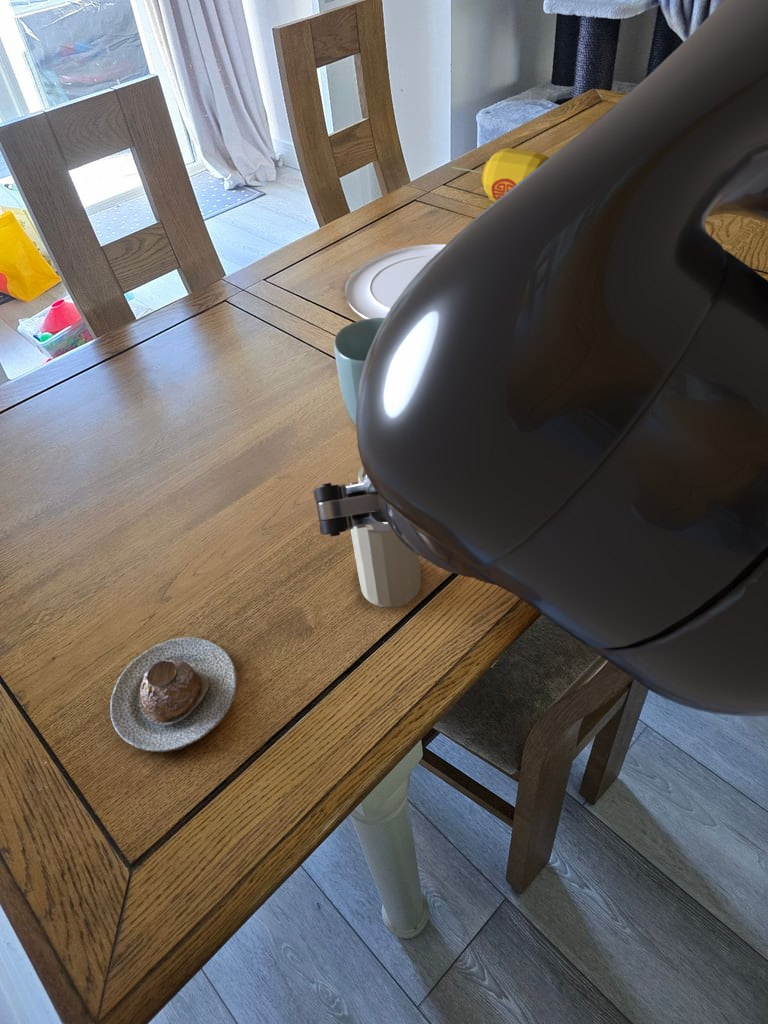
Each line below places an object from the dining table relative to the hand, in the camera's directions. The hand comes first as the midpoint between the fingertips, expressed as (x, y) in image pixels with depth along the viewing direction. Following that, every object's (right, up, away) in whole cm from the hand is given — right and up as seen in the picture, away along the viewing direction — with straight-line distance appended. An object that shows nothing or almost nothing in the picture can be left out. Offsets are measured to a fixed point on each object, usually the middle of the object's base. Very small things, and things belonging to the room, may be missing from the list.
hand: (426, 493), depth 46 cm
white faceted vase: (-2, -9, +29) cm, 30 cm away
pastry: (-23, -19, +21) cm, 36 cm away
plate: (+5, +37, +72) cm, 81 cm away
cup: (-3, +11, +48) cm, 49 cm away
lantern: (+23, +59, +92) cm, 112 cm away
